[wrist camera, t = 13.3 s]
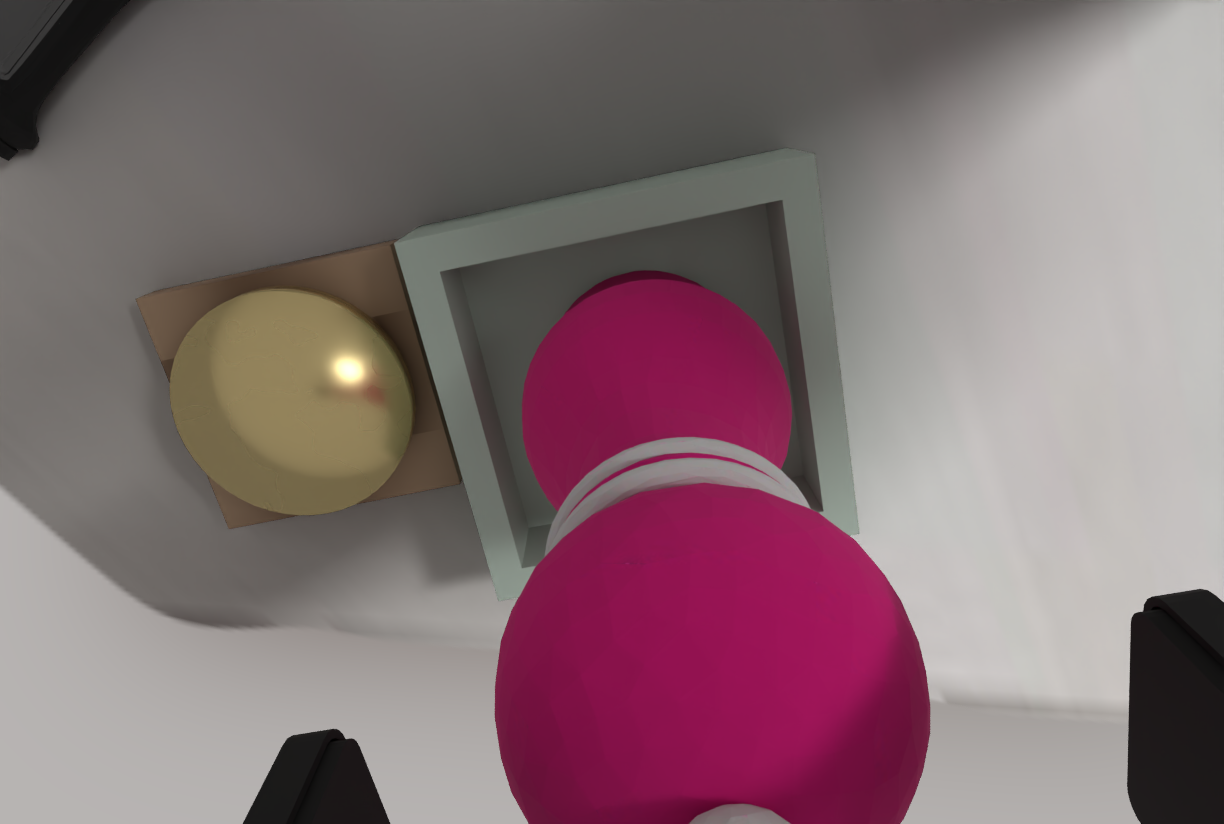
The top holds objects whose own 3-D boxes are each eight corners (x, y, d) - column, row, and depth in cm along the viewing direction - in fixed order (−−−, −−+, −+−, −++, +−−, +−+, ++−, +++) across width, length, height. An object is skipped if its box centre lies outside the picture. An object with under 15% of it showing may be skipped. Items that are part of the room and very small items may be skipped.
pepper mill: (510, 440, 28) (325, 1153, 9) (563, 226, 25) (465, 577, 6) (719, 491, 28) (956, 1246, 10) (790, 287, 26) (1288, 760, 7)
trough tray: (787, 147, 25) (815, 153, 22) (830, 485, 29) (859, 533, 26) (419, 226, 26) (393, 243, 23) (509, 546, 30) (498, 601, 27)
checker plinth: (398, 238, 26) (389, 245, 25) (465, 469, 29) (460, 484, 28) (155, 291, 27) (135, 299, 25) (243, 513, 29) (229, 529, 28)
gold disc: (385, 257, 26) (370, 268, 24) (447, 468, 28) (438, 491, 26) (161, 304, 26) (131, 318, 24) (242, 509, 28) (220, 534, 27)
